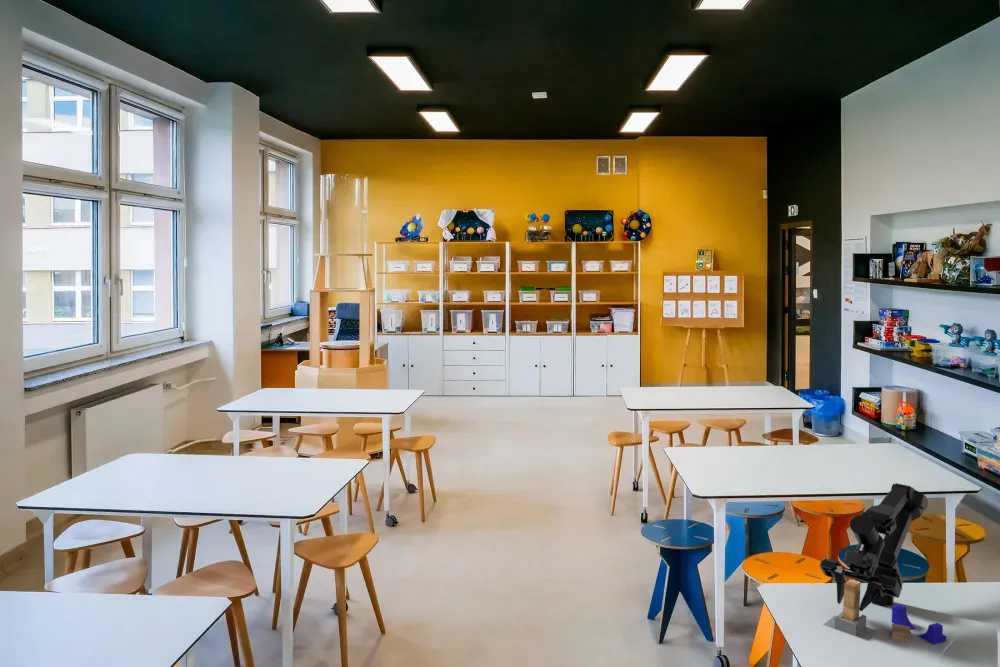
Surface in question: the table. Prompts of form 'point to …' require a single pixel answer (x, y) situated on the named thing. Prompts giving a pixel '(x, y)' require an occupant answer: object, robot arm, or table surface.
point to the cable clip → (901, 618)
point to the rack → (852, 626)
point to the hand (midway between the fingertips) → (849, 606)
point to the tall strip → (851, 600)
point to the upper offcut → (901, 633)
